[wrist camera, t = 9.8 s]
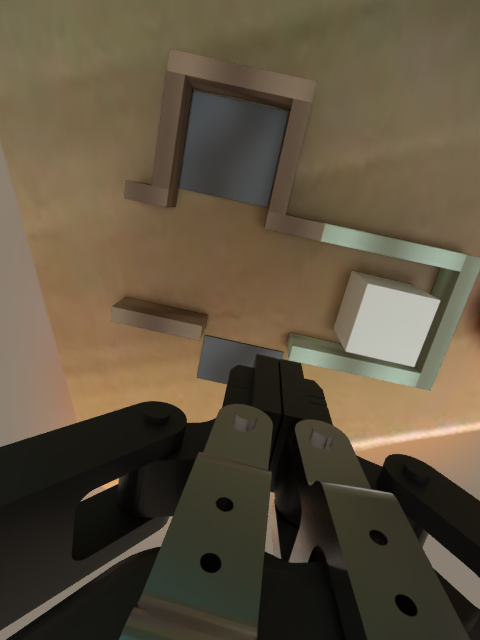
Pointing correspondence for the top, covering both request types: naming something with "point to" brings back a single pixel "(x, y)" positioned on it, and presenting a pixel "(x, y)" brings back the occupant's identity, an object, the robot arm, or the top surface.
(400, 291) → the cream block
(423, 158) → the top surface
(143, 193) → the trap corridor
